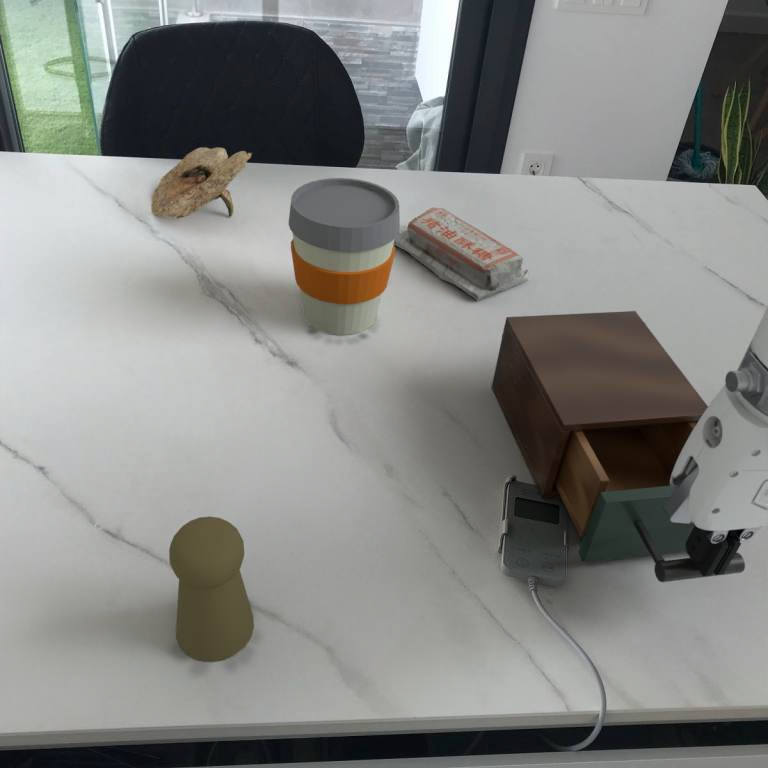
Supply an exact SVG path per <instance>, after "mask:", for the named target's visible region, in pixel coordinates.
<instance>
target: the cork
mask: <svg viewBox="0 0 768 768" xmlns="http://www.w3.org/2000/svg"><path fill="white" fill-rule="evenodd" d="M168 552H169V553H168V555H169V558H168V559H169V565H170V567H171V569H172V571H173V573H174V575H175V577H176V578H177V579H178V588H177V589H178V590H177V592H178V593H177V604H176V605H177V606H176V619H175V620H176V621H175V639H176V641H177V643H178V645H179V648H180V649H181V651H183V652H184V653H185V654H186V655H187V656H189V657H190V658H193V659H195V660H197V661H200V662H208V663H213V662H214V663H215V662H220V661H226V660H227V659H230V658H232V657H234V656H236V655H237V654H239V653H240V652H241V651H242V650H243V649H244V648H246V646H247V644H248V643H249V642H250V640H251V639H252V637H253V634H254V629H255V620H254V614H253V611H252V607H251V604H250V601H249V600H250V599H249V597H248V593H247V590H246V586H245V582H244V579H243V576H242V573H241V568H242V565H243V561H244V558H245V543H244V539H243V537H242V535H241V534H240V531H239V529H238V528H237V527H236V526H235V525H233V524H232V523H231V522H229V520H226V519H223V518H221V517H217V516H210V515H208V516H201V517H197V518H194V519H191V520H189V521H188V522H187V523H185V524H183V525H182V526H181V527H180V528H179V529H178V530H177V532H176V533H175V534H174V535H173V537H172V540H171V542H170V545H169V550H168Z"/></svg>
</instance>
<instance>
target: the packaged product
mask: <svg viewBox="0 0 768 768" xmlns="http://www.w3.org/2000/svg"><path fill="white" fill-rule="evenodd" d="M394 246H395V247H398V248H400V249H401V250H404V251H405V252H407V253H409V254H410V256H412V257H413V258H414V259H415V260H417V261H418V262H420V263H421V264H423V265H424V266H425V267H427V268H428V269H429V270H430V271H432V272H433V273H434V274H435V275H436V276H437V277H438V278H439V279H440V280H443V281H446V282H447V283H450V284H453V285H454V286H455V287H458V288H460V290H462V291H464V292H465V293H466V294H467V295H469V296H470V297H471V298H473V299H475V300H476V301H478V302H479V301H481V300H483V299H486V298H489V297H490V296H494V295H497V294H498V293H501V292H503V291H506V290H508V289H511V288H513V287H515V286H518V285H521V284H523V283H526V282H528V279H529V269H524V268H523V267H522V265H523V259H524V257H522V255H520V254H519V253H517V252H515V250H512V249H511V248H509V247H507V246H506V245H505V244H502V242H499V241H498V240H495V239H494V238H493V237H491V236H490V235H488V234H487V233H485V232H483V231H481V230H479V229H478V228H477V227H475V226H473V225H471V224H470V223H468V222H466V221H465V220H463V219H462V218H459V217H458V216H456V215H454V214H453V213H451V212H450V211H448V210H446V208H443V207H431V208H428V209H427V210H426V211H424V212H423V213H421V214H420V215H418V216H416V217H414V218H413V219H412V220H410V221H409V222H408V224H407V230H405V231H402V232H399V233H398V235H397V236H396V238H395V239H394Z"/></svg>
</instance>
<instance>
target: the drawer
mask: <svg viewBox="0 0 768 768" xmlns="http://www.w3.org/2000/svg"><path fill="white" fill-rule="evenodd" d="M695 426H696V422H695V421H688V422H675V423H662V424H650V425H637V426H624V427H612V428H599V429H586V430H573V431H570V433H569V436H568V440H567V443H566V446H565V449H564V452H563V456H562V459H561V462H560V465H559V468H558V472H557V475H556V478H555V481H554V483H555V485H556V487H557V489H558V491H559V493H560V496H561V497H560V498H561V500H562V502H563V504H564V506H565V508H566V510H567V512H568V515H569V516H570V518H571V521H572V522H573V525H574V527H575V529H576V531H577V533H578V536H579V537H580V538H582V540H581V543H580V546H579V549H578V555H579V557H580V559H581V562H582V564H583V563H584V564H585V563H592V562H602V561H612V560H619V559H630V558H638V557H646V556H650V557H651V559H652V560H653V562H654V575H655V578H656V579H657V580H658V582H660V583H667V582H669V583H670V582H674V581H685V580H691V579H701V578H710V577H717V576H725V575H733V574H741V573H743V572H744V571H745V567H746V564H745V563H746V562H745V559H744V557H743V556H742V554H740V553H739V552H736V554H735V555H734V557H733V559H732V560H731V562H730V564H729V565H728V567H727V569H726V571H725V572H724V574H720V575H715V574H714V573H712V575H711V576H702V575H701V573H700V571H699V570H698V568H697V566H696V564H695V563H694V561H692V560H691V558H690V557H685V558H677V559H668V560H665V558H664V556H663V554H672V553H681V552H687V550H686V546H685V544H686V541H687V539H688V537H689V535H690V533H691V532H692V530H693V528H694V526H695V524H694V523H690V524H686V523H674V522H671V521H670V519H669V517H668V516H667V514H666V512H665V511H664V509H663V506H664V504H665V503H666V502H667V501H668V499H669V498H670V497H671V495H672V494H673V493H674V492H675V490H676V489H677V488H674V487H672V486H671V485H670V479H671V474H672V472H673V469H674V466H675V464H676V461H677V459H678V457H679V455H680V453H681V451H682V449H683V447H684V445H685V443H686V441H687V440H688V438H689V436H690V434H691V432H692V431H693V429H694V428H695Z"/></svg>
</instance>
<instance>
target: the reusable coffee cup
mask: <svg viewBox="0 0 768 768" xmlns="http://www.w3.org/2000/svg"><path fill="white" fill-rule="evenodd" d="M288 215H289V216H288V227H289V230H290V231H291V233H292V240H291V241H290V242H291V243H290V252H291V258H292V265H293V272H294V280H295V282H296V285H297V287H298V288H299V291H300V298H301V304H302V312H303V317H304V319H305V321H306V322H307V324H308V325H310V326H311V327H312V328H314V329H316V330H318V331H319V332H322V333H325V334H329V335H334V336H335V335H336V336H348V335H356V334H359V333H362V332H365V331H366V330H368V329H369V328H371V327H372V326H373V325H374V324H375V322H376V319H377V315H378V311H379V308H380V303H381V298H382V294H383V293H384V292H385V290H386V289H387V287H388V283H389V279H390V275H391V270H392V267H393V264H394V263H393V262H394V258H395V254H396V248H395V247H396V245H394V239H395V238H396V236H397V235H398V234H399V233H400V230H401V225H400V224H401V223H400V221H401V220H400V219H401V218H400V217H401V216H400V202H399V200H398V198H397V196H396V195H395V194H394V193H393V192H392V191H390V190H389V189H387V188H385V187H384V186H381V185H379V184H376V183H373V182H371V181H367V180H363V179H357V178H350V177H349V178H347V177H330V178H329V177H328V178H323V179H322V178H321V179H317V180H313V181H310V182H307V183H305V184H303V185H301V186H299V187H297V189H295V190H294V191H293V192H292V195H291V198H290V207H289V214H288Z"/></svg>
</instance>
